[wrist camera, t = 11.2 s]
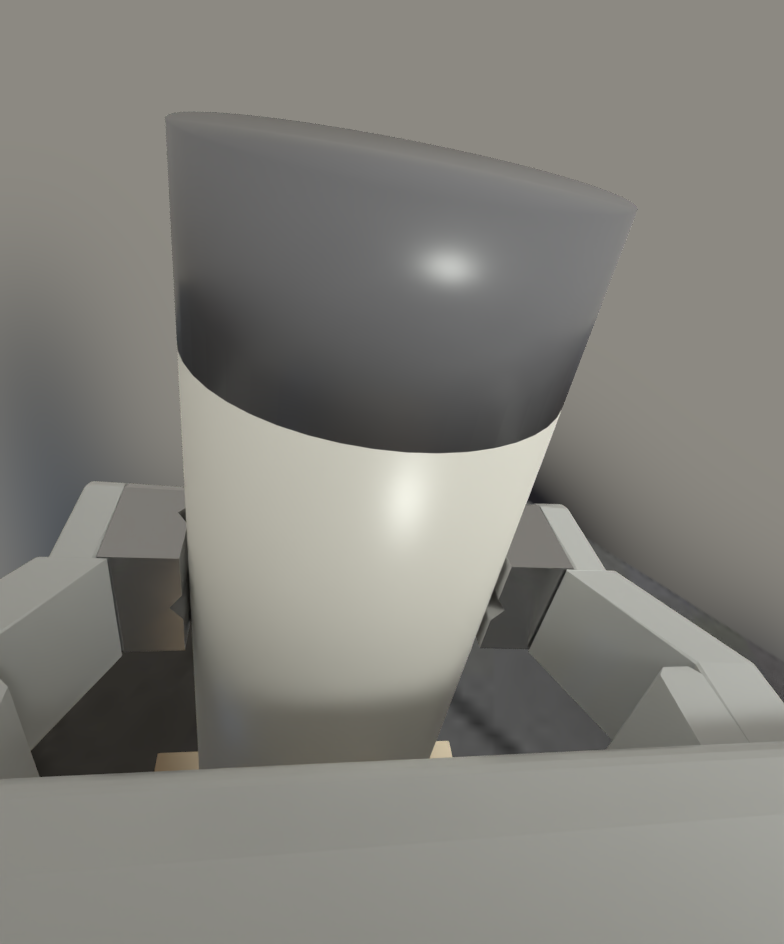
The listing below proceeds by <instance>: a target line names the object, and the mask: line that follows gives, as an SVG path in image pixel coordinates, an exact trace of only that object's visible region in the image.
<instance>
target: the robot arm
mask: <svg viewBox="0 0 784 944" xmlns="http://www.w3.org/2000/svg"><path fill="white" fill-rule="evenodd" d="M190 623H191V604H190V586H189V565H188V546H187V528H186V509H185V489H184V487H176V486H163V485H149V484H148V485H147V484H134V483H129V484H126V483H114V482H98V481H92V482H91V483H89V484H88V485H86V486H85V488H84V489H83V491H82V493H81V495H80V497H79V499H78V501H77V503H76V505H75V507H74V509H73V511H72V513H71V515H70V517H69V518H68V521H67V522H66V524H65V526H64V528H63V530H62V532H61V534H60V536H59V538H58V540H57V542H56V544H55V546H54V548H53V550H52V552H51V553H50V556H49V557H36V558H34V559H33V560H31V561H29V562H27V563H26V564H24V565H22V566H21V567H19V568H18V569H16V570H14V571H13V572H11V573H9V574H8V575H6V576H4V577H3V578H1V579H0V944H784V703H783V701H782V700H781V699H780V698H779V696H778V695H777V694H776V692H775V691H774V690H773V688H772V687H771V686H770V684H769V683H768V682H767V681H766V679H765V678H764V677H763V675H762V674H761V673H760V671H759V670H758V669H757V667H756V666H755V665H754V664H753V663H752V662H750V661H749V660H747V659H746V658H744V657H743V656H741V655H740V654H738V653H737V652H735V651H734V650H732V649H731V648H729V647H728V646H726V645H725V644H723V643H722V642H720V641H719V640H717V639H716V638H714V637H713V636H711V635H710V634H708V633H707V632H705V631H704V630H702V629H701V628H699V627H698V626H696V625H695V624H693V623H692V622H690V621H689V620H687V619H686V618H684V617H683V616H681V615H680V614H678V613H677V612H675V611H674V610H672V609H671V608H669V607H668V606H666V605H665V604H663V603H662V602H660V601H659V600H657V599H656V598H654V597H653V596H652V595H650V594H649V593H647V592H646V591H644V590H643V589H641V588H640V587H638V586H637V585H635V584H634V583H632V582H631V581H629V580H628V579H626V578H625V577H623V576H622V575H620V574H619V573H617V572H616V571H606V570H605V568H604V566H603V565H602V563H601V562H600V560H599V558H598V557H597V555H596V553H595V552H594V550H593V549H592V547H591V545H590V544H589V542H588V541H587V539H586V537H585V536H584V534H583V533H582V531H581V529H580V528H579V526H578V525H577V523H576V521H575V520H574V518H573V516H572V515H571V513H570V512H569V510H568V509H567V508H566V507H565V506H563V505H561V504H533V505H527V504H526V505H525V508H524V510H523V513H522V516H521V518H520V521H519V524H518V526H517V529H516V532H515V534H514V537H513V539H512V542H511V545H510V547H509V550H508V553H507V555H506V558H505V561H504V563H503V566H502V568H501V571H500V574H499V576H498V579H497V582H496V584H495V587H494V590H493V592H492V595H491V597H490V600H489V603H488V605H487V608H486V611H485V613H484V616H483V619H482V621H481V624H480V626H479V629H478V632H477V634H476V638H477V641H478V644H479V647H480V648H494V649H529V651H528V652H529V653H530V654H531V655H532V656H533V657H534V658H535V659H536V660H537V661H538V662H539V663H540V664H541V666H542V667H543V668H544V669H545V670H546V671H547V672H548V673H549V674H550V675H551V676H552V677H553V678H554V679H555V680H556V681H557V682H558V683H559V684H560V686H561V687H562V688H563V689H564V690H565V691H566V692H567V693H568V694H569V695H570V696H571V697H572V698H573V699H574V700H575V701H576V702H577V703H578V704H579V705H580V707H581V708H582V709H583V710H584V711H585V712H586V713H587V714H588V715H589V716H590V717H591V718H592V719H593V720H594V721H595V722H596V723H597V724H598V725H599V726H600V728H601V729H602V730H603V731H604V732H605V733H606V734H607V735H608V736H609V737H610V738H611V739H612V741H611V743H610V744H609V746H608V747H607V749H606V750H589V751H569V752H549V753H529V754H509V755H489V756H469V757H449V758H428V759H407V760H386V761H365V762H344V763H323V764H302V765H281V766H260V767H239V768H219V769H198V770H177V771H157V772H136V773H115V774H95V775H74V776H53V777H39V774H38V771H37V768H36V765H35V762H34V760H33V757H32V754H31V750H32V749H33V748H34V747H35V746H36V745H37V744H38V743H39V742H40V741H41V740H42V738H43V737H44V736H45V735H46V734H47V733H48V732H49V731H50V730H51V729H52V728H53V727H54V726H55V725H56V724H57V723H58V722H59V721H60V720H61V719H62V718H63V717H64V716H65V715H66V714H67V713H68V711H69V710H70V709H71V708H72V707H73V706H74V705H75V704H76V703H77V702H78V701H79V700H80V699H81V698H82V697H83V696H84V695H85V694H86V693H87V692H88V691H89V690H90V689H91V688H92V687H93V686H94V684H95V683H96V682H97V681H98V680H99V679H100V678H101V677H102V676H103V675H104V674H105V673H106V672H107V671H108V670H109V669H110V668H111V667H112V666H113V665H114V664H115V663H116V662H117V661H118V660H119V659H120V657H121V656H122V652H145V651H175V650H185V647H186V643H187V638H188V633H189V628H190Z"/></svg>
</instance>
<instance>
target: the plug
mask: <svg viewBox="0 0 784 944" xmlns="http://www.w3.org/2000/svg"><path fill="white" fill-rule="evenodd" d="M165 122H166V142H167V162H168V181H169V199H170V219H171V237H172V256H173V257H172V258H173V277H174V296H175V315H176V334H177V353H178V354H177V355H178V374H179V393H180V412H181V431H182V449H183V450H182V451H183V468H184V469H183V470H184V489H185V509H186V528H187V546H188V565H189V586H190V604H191V624H192V644H193V663H194V682H195V702H196V721H197V740H198V759H199V769H219V768H239V767H260V766H281V765H302V764H323V763H344V762H365V761H386V760H407V759H428V758H430V756H431V753H432V750H433V748H434V745H435V742H436V740H437V737H438V735H439V732H440V729H441V727H442V724H443V721H444V719H445V716H446V713H447V711H448V708H449V706H450V703H451V700H452V698H453V695H454V692H455V690H456V687H457V684H458V682H459V679H460V677H461V674H462V671H463V669H464V666H465V663H466V661H467V658H468V655H469V653H470V650H471V648H472V645H473V642H474V640H475V637H476V634H477V632H478V629H479V626H480V624H481V621H482V619H483V616H484V613H485V611H486V608H487V605H488V603H489V600H490V597H491V595H492V592H493V590H494V587H495V584H496V582H497V579H498V576H499V574H500V571H501V568H502V566H503V563H504V561H505V558H506V555H507V553H508V550H509V547H510V545H511V542H512V539H513V537H514V534H515V532H516V529H517V526H518V524H519V521H520V518H521V516H522V513H523V510H524V508H525V505H526V502H527V500H528V497H529V494H530V492H531V489H532V487H533V484H534V481H535V479H536V476H537V473H538V471H539V468H540V465H541V463H542V460H543V458H544V455H545V452H546V450H547V447H548V444H549V442H550V439H551V436H552V434H553V431H554V429H555V426H556V423H557V421H558V418H559V415H560V413H561V410H562V407H563V405H564V402H565V400H566V397H567V394H568V392H569V389H570V386H571V384H572V381H573V379H574V376H575V373H576V370H577V368H578V365H579V363H580V360H581V357H582V355H583V352H584V350H585V347H586V344H587V342H588V339H589V336H590V334H591V331H592V328H593V326H594V323H595V321H596V318H597V315H598V313H599V310H600V307H601V305H602V302H603V299H604V297H605V294H606V292H607V289H608V286H609V283H610V281H611V278H612V275H613V273H614V270H615V268H616V265H617V262H618V260H619V257H620V255H621V252H622V249H623V247H624V244H625V241H626V239H627V236H628V233H629V231H630V228H631V226H632V223H633V220H634V217H635V215H636V212H637V210H638V209H637V206H636V205H635V204H634V203H632V202H631V201H629V200H627V199H625V198H623V197H621V196H619V195H616V194H614V193H612V192H609V191H606V190H603V189H601V188H598V187H595V186H592V185H589V184H586V183H583V182H580V181H577V180H574V179H570V178H567V177H564V176H560V175H556V174H553V173H549V172H546V171H542V170H538V169H535V168H531V167H527V166H523V165H519V164H515V163H511V162H507V161H503V160H498V159H494V158H490V157H486V156H482V155H477V154H473V153H468V152H464V151H459V150H455V149H450V148H445V147H440V146H436V145H431V144H426V143H421V142H416V141H411V140H405V139H401V138H395V137H390V136H384V135H379V134H374V133H368V132H362V131H357V130H351V129H345V128H339V127H332V126H326V125H320V124H312V123H306V122H299V121H292V120H284V119H277V118H269V117H260V116H252V115H241V114H230V113H217V112H178V113H172V114H169V115H167V116H166V117H165Z"/></svg>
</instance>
